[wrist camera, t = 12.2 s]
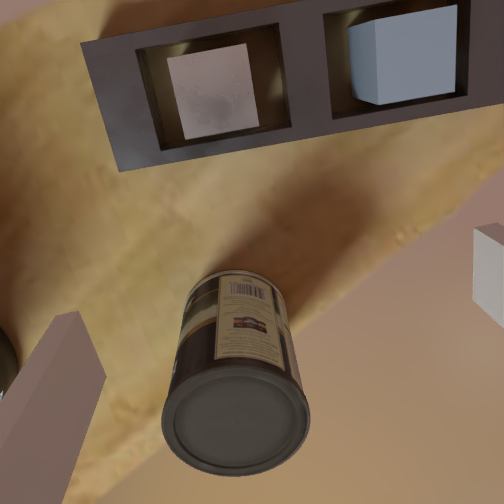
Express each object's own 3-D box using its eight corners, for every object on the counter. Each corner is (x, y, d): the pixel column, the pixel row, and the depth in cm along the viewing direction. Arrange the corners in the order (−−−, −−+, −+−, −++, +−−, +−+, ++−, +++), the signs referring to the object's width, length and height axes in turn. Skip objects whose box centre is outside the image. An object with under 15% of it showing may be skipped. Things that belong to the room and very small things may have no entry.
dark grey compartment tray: (129, 162, 36) (118, 172, 33) (95, 44, 32) (79, 42, 29) (488, 97, 35) (514, 101, 32) (495, -32, 31) (525, -43, 28)
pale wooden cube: (194, 125, 35) (185, 139, 28) (179, 59, 33) (166, 58, 26) (254, 114, 35) (259, 126, 28) (243, 46, 33) (246, 43, 26)
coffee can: (198, 366, 45) (184, 489, 32) (170, 281, 41) (140, 383, 28) (295, 347, 44) (320, 464, 31) (277, 258, 40) (297, 352, 27)
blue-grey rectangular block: (351, 97, 34) (378, 105, 28) (347, 28, 32) (374, 19, 26) (413, 86, 34) (454, 91, 28) (413, 16, 32) (457, 4, 26)
